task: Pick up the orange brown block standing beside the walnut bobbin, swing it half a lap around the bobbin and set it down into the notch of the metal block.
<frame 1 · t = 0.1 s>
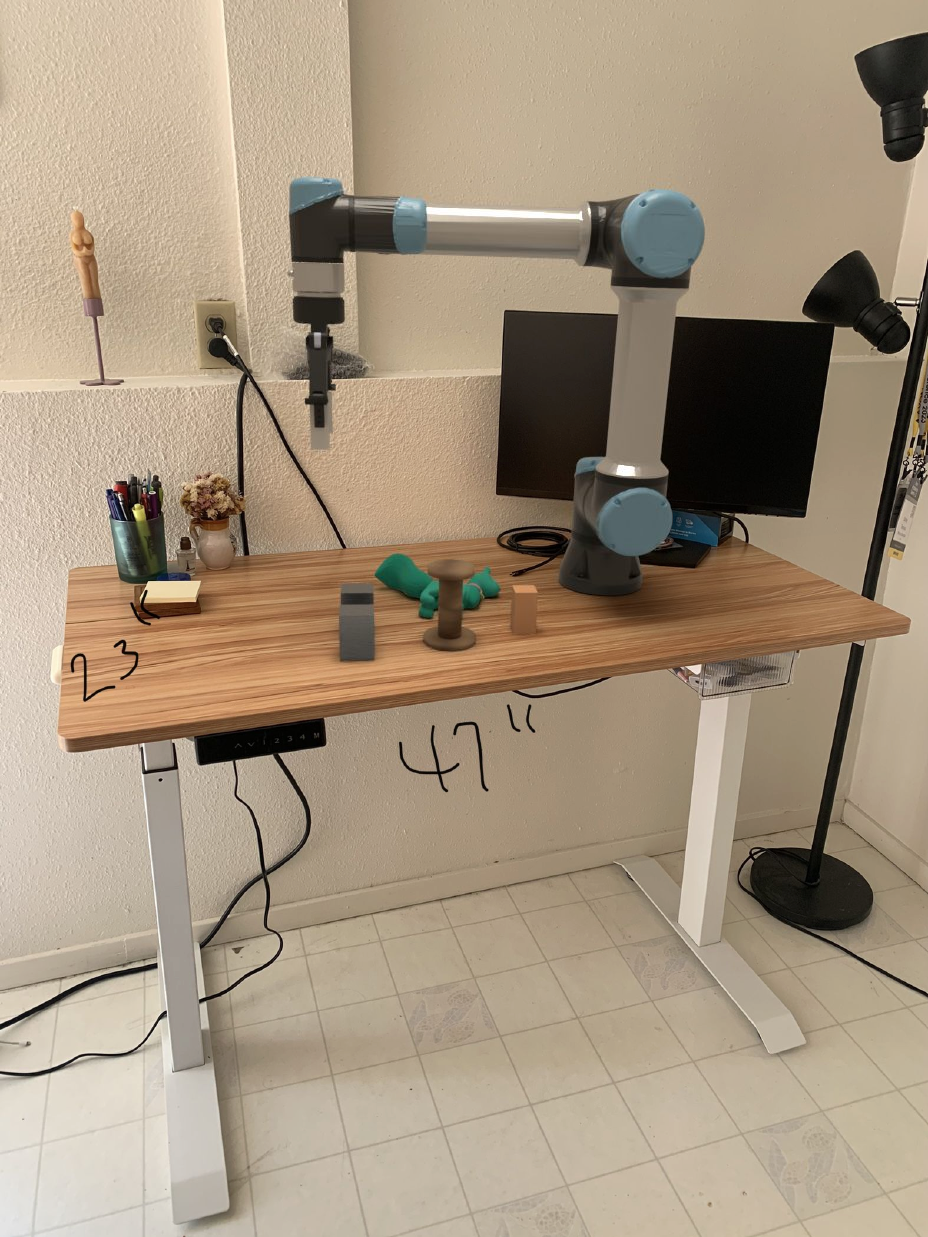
hand: (322, 441, 143), 28 cm above the table, fingers open, 13 cm apart
bobbin: (449, 640, 142), on the table
metal block: (357, 642, 141), on the table
orange brown block: (522, 630, 147), on the table
toy: (434, 602, 160), on the table
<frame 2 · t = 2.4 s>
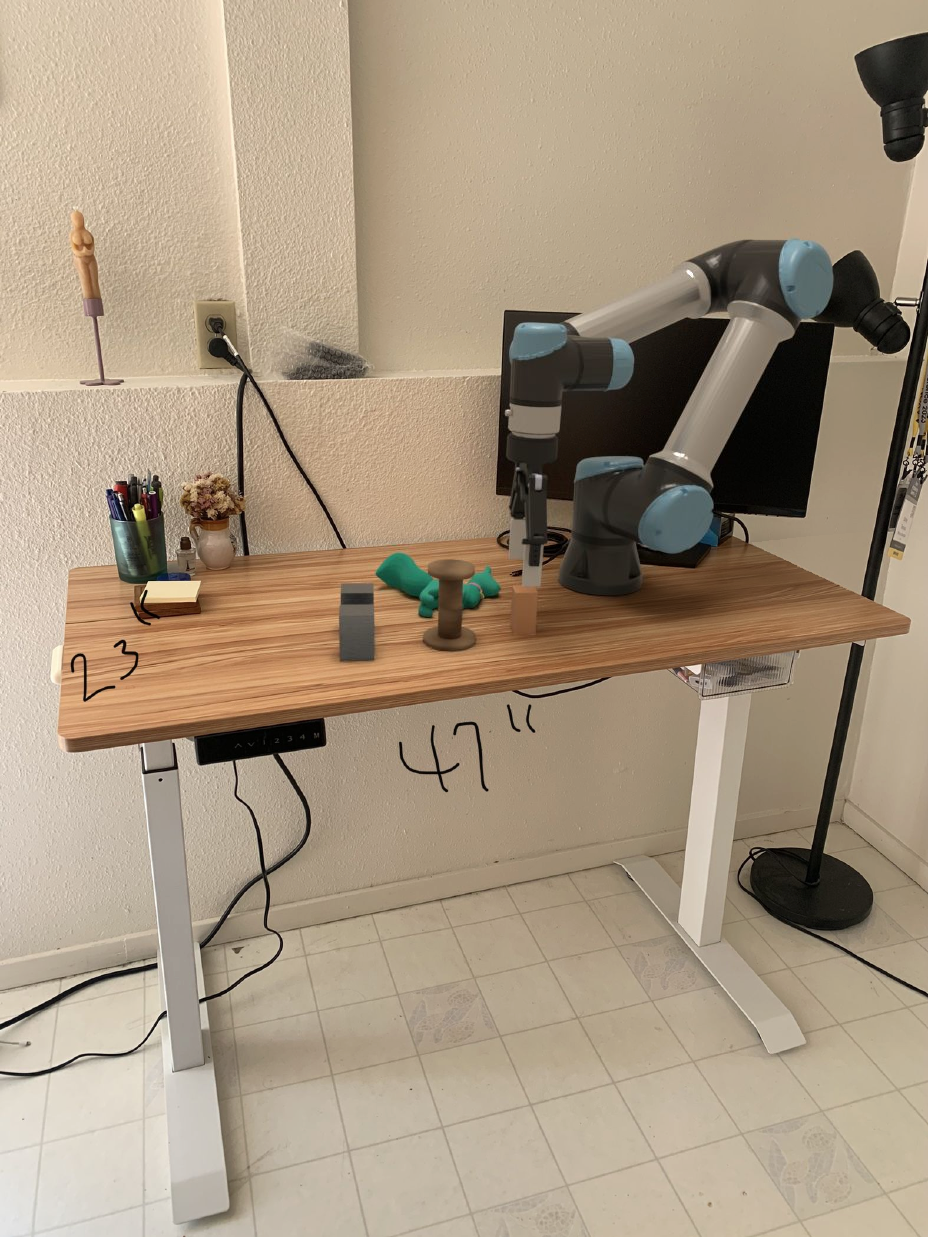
hand: (523, 571, 143), 10 cm above the table, fingers open, 13 cm apart
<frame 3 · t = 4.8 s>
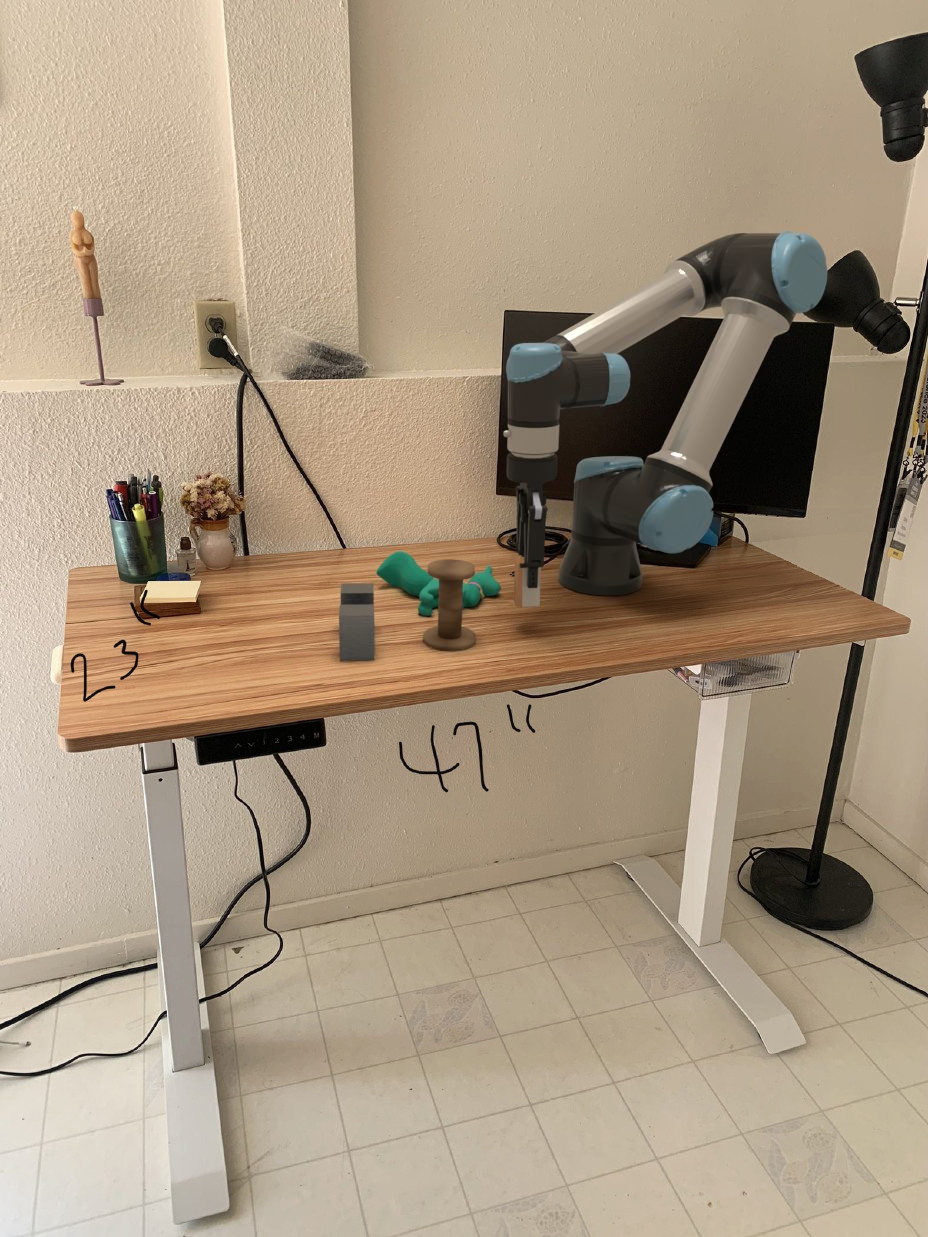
hand: (528, 600, 146), 5 cm above the table, fingers closed on orange brown block, 3 cm apart
orange brown block: (526, 603, 146), point 4 cm above the table, touching gripper
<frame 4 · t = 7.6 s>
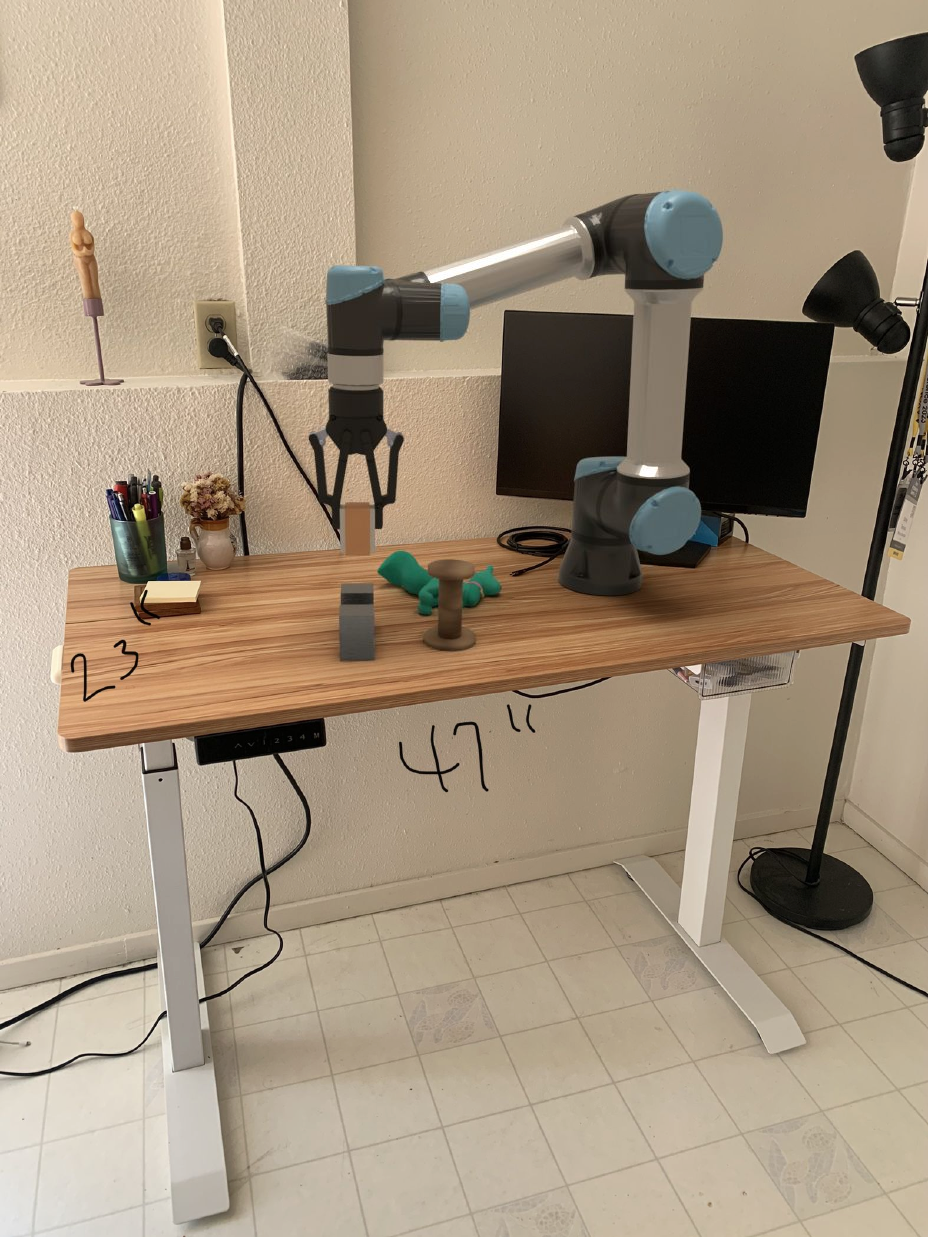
hand: (357, 549, 135), 15 cm above the table, fingers closed on orange brown block, 3 cm apart
orange brown block: (357, 551, 135), point 14 cm above the table, touching gripper
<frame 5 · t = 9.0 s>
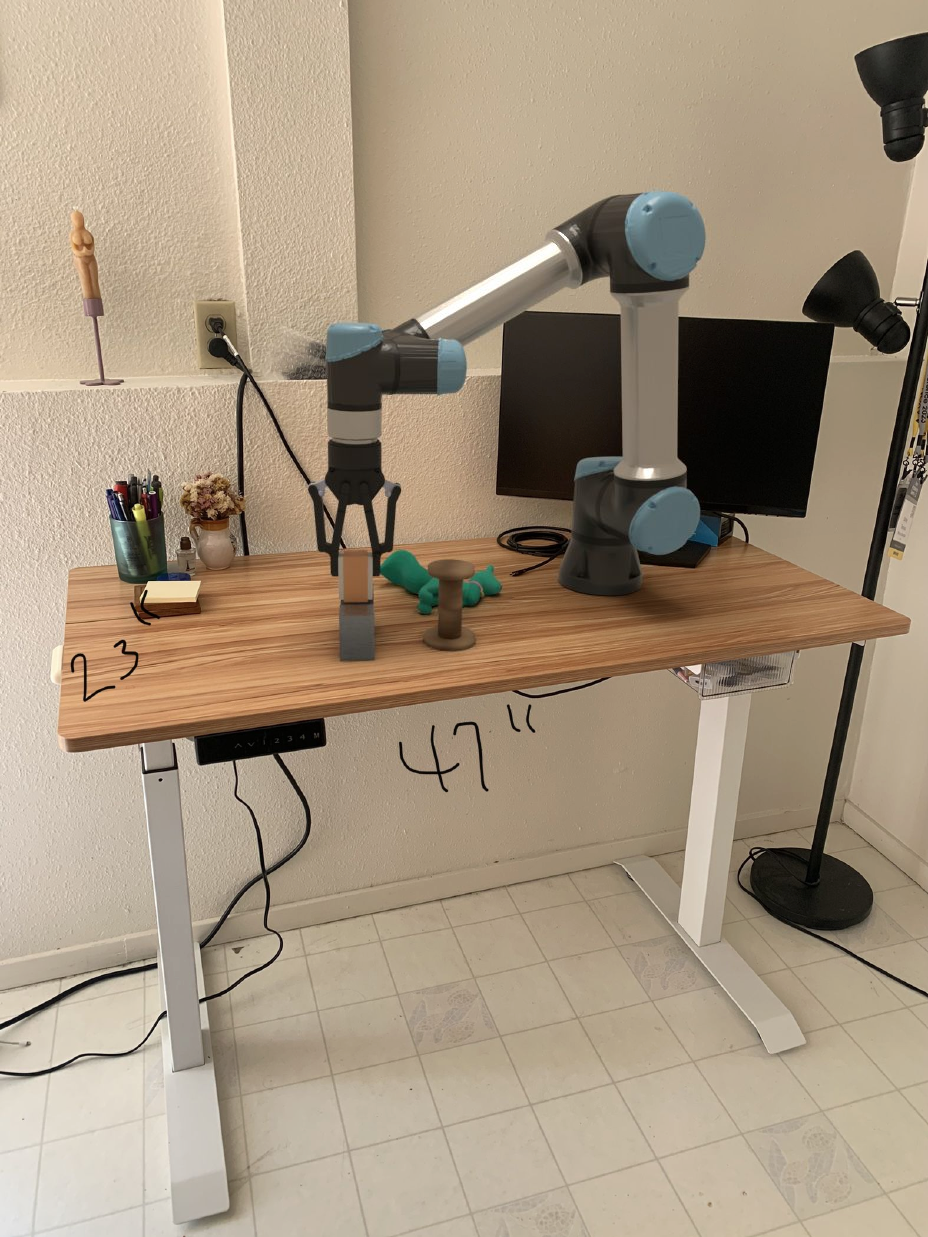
hand: (355, 596, 138), 7 cm above the table, fingers closed on orange brown block, 3 cm apart
orange brown block: (355, 597, 138), point 7 cm above the table, touching gripper
when the fingers open (2 cm above the table, at t = 10.2 s): orange brown block stays where it is, resting on metal block.
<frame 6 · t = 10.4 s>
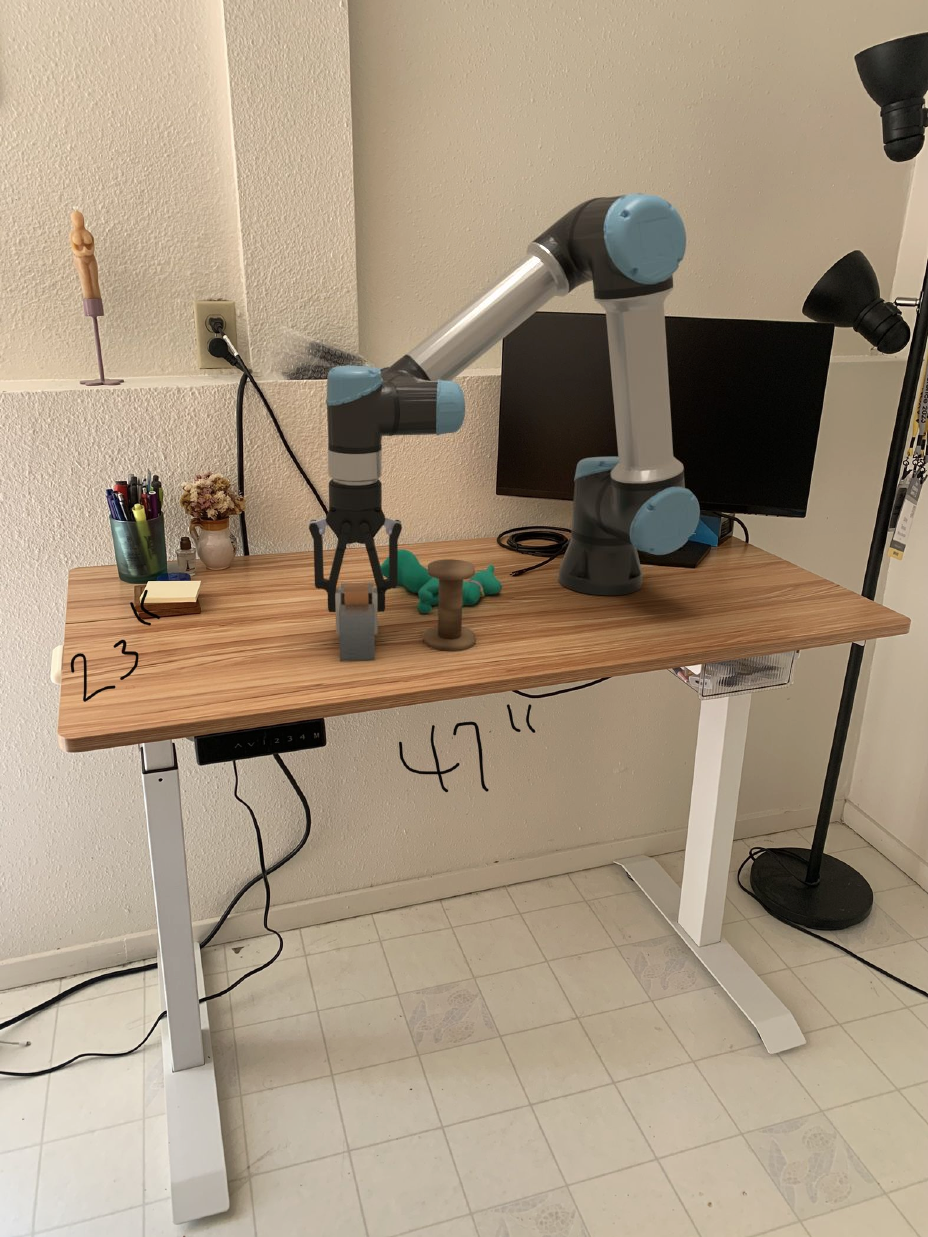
hand: (356, 630, 140), 2 cm above the table, fingers open, 5 cm apart
orange brown block: (357, 632, 140), point 1 cm above the table, touching metal block
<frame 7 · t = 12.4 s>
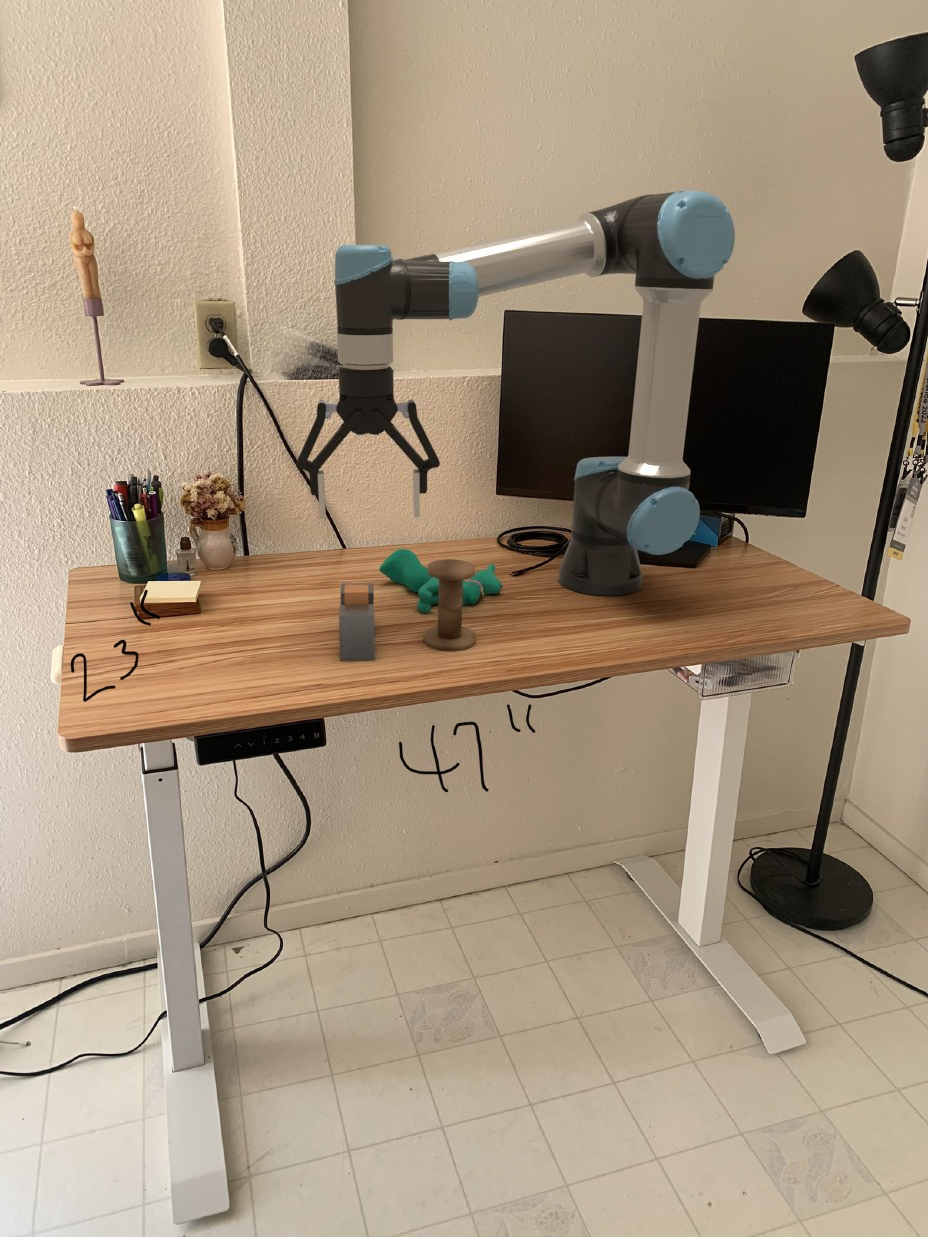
hand: (369, 516, 135), 19 cm above the table, fingers open, 13 cm apart
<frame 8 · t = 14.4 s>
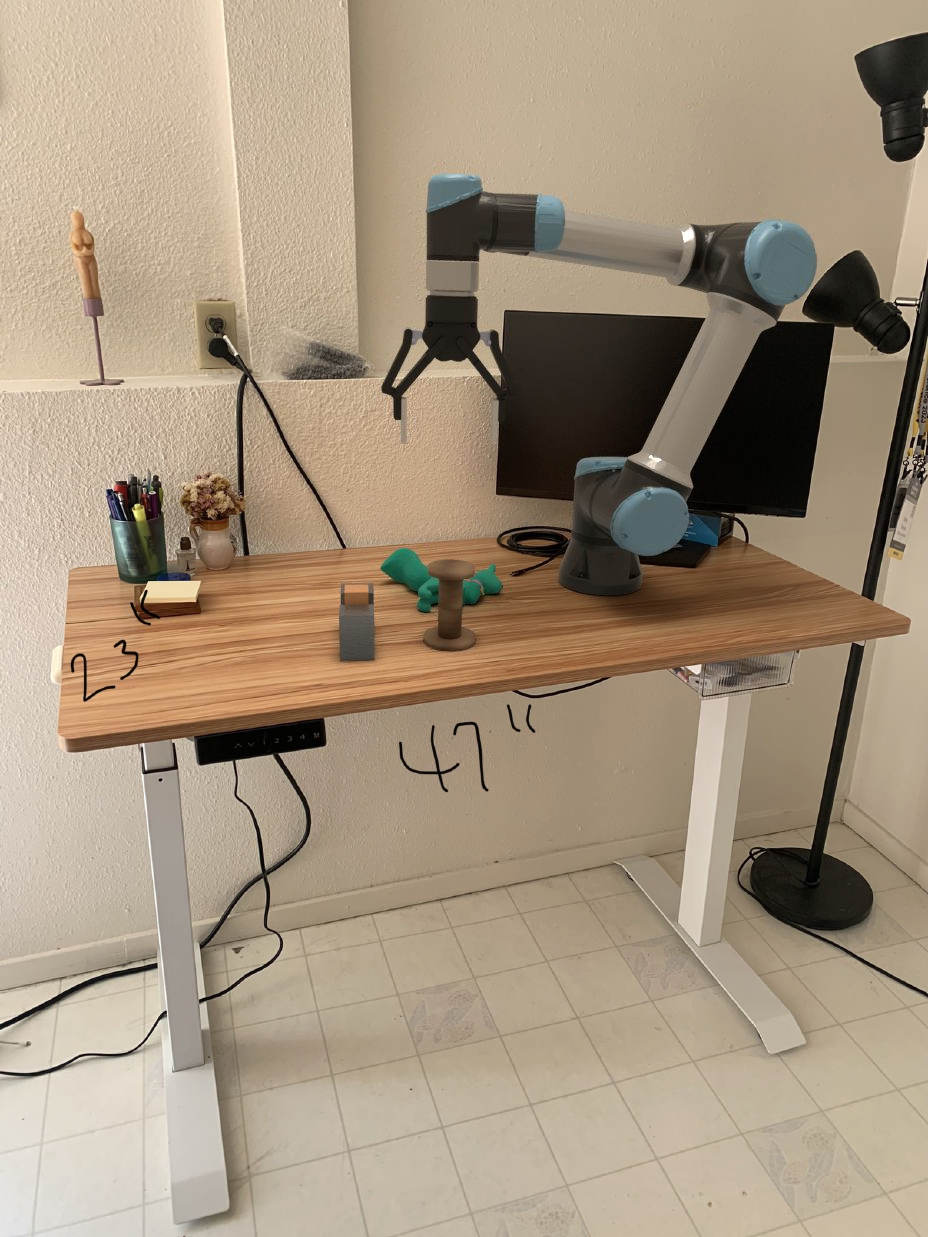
hand: (448, 442, 140), 29 cm above the table, fingers open, 13 cm apart
at the end: orange brown block 0.3 cm off-centre on the metal block, point 1.5 cm above the metal block's base; orange brown block tilted 0°; the gripper is holding nothing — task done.
